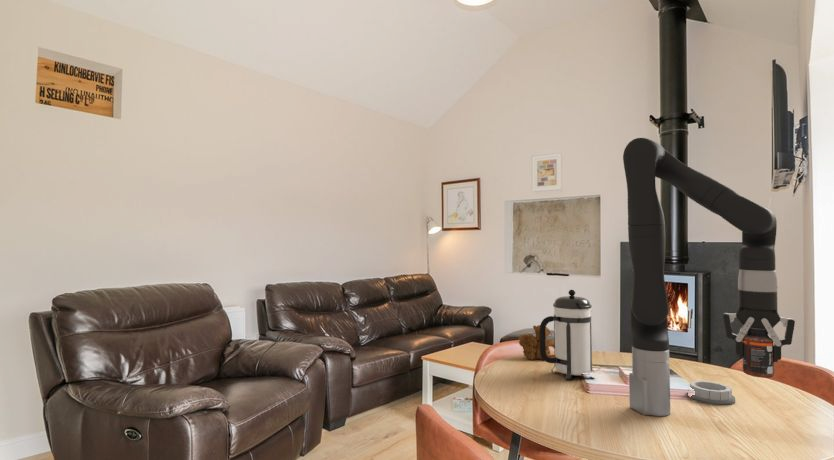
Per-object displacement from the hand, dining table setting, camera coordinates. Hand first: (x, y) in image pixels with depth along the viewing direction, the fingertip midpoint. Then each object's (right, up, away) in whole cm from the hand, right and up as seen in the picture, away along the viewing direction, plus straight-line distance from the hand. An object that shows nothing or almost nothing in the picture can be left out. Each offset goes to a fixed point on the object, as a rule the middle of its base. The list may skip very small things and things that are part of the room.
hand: (758, 359), depth 108 cm
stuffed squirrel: (-33, -21, +74) cm, 84 cm away
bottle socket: (+6, -19, +27) cm, 33 cm away
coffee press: (-28, -20, +50) cm, 60 cm away
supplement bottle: (0, -4, 0) cm, 4 cm away
